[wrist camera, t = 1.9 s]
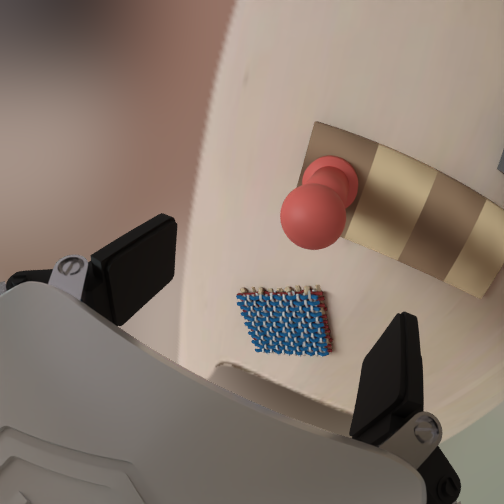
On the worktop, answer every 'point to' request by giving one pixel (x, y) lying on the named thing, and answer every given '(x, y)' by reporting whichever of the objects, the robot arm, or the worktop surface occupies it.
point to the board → (416, 212)
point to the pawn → (320, 203)
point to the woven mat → (287, 320)
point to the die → (501, 163)
